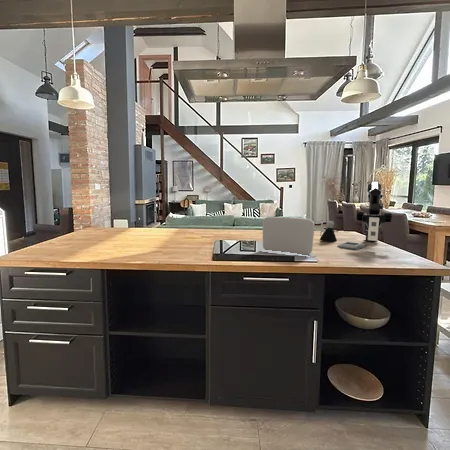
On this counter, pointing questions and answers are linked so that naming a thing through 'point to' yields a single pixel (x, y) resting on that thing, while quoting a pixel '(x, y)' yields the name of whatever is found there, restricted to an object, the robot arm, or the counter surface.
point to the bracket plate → (352, 245)
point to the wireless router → (288, 235)
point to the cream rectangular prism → (373, 228)
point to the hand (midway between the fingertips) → (373, 228)
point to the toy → (328, 232)
